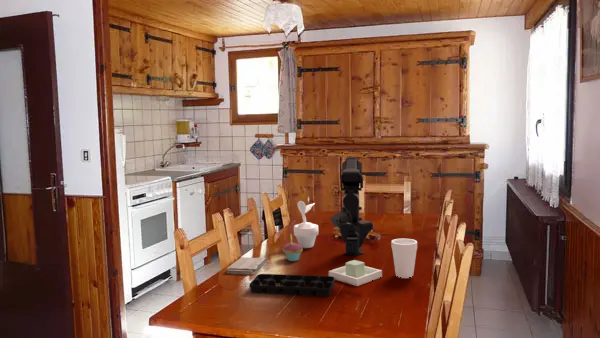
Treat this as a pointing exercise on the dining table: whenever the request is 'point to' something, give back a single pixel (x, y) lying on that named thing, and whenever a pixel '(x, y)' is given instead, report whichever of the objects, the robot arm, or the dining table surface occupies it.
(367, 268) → the tray
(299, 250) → the cupcake
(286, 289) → the egg carton
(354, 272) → the cube
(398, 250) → the foam cup
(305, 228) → the potted plant
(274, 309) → the dining table surface
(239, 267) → the washcloth
